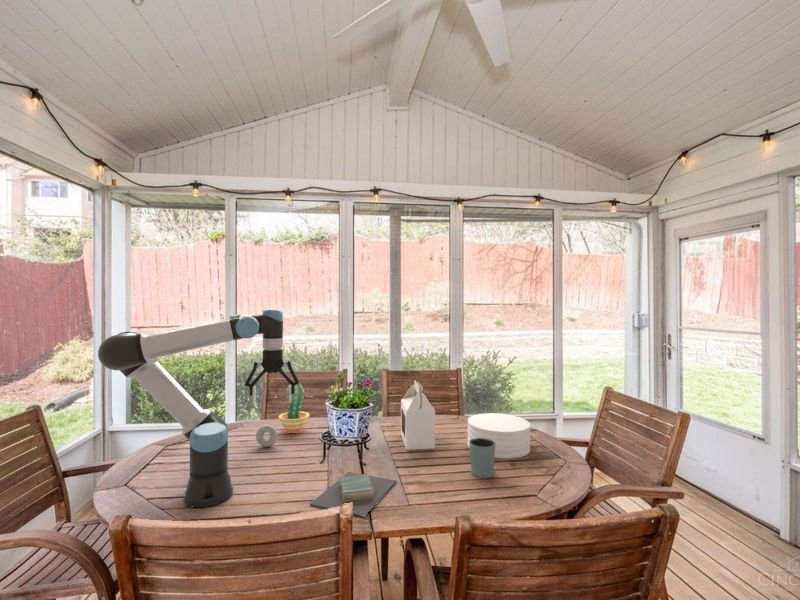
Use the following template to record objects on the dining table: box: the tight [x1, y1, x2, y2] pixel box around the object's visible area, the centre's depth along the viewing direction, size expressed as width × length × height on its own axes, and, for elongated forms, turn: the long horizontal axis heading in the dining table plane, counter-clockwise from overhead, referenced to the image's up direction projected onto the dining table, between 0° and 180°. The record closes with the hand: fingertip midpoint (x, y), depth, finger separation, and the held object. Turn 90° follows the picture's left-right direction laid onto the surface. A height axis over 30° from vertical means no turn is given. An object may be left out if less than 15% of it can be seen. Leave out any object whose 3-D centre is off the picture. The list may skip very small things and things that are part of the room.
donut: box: [255, 424, 279, 448], centre depth 183 cm, size 10×4×10 cm, turn 89°
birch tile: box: [339, 473, 374, 502], centre depth 139 cm, size 3×10×12 cm
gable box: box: [400, 379, 436, 451], centre depth 191 cm, size 22×13×28 cm, turn 6°
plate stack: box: [467, 412, 531, 459], centre depth 185 cm, size 28×28×12 cm
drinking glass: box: [469, 438, 496, 479], centre depth 156 cm, size 10×10×12 cm
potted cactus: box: [278, 381, 310, 434], centre depth 205 cm, size 15×15×25 cm
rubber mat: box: [309, 471, 397, 516], centre depth 139 cm, size 26×20×1 cm
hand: (272, 403), depth 157 cm, fingers open, 13 cm apart
